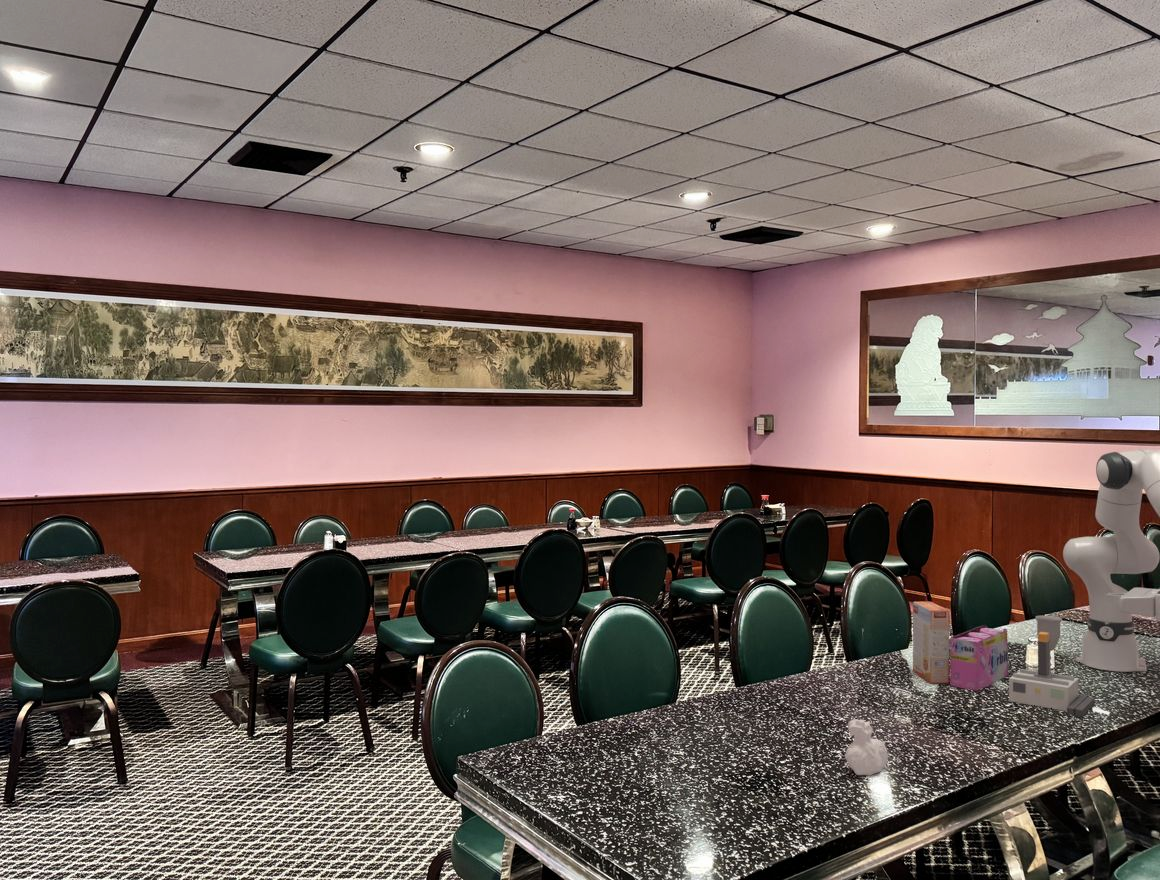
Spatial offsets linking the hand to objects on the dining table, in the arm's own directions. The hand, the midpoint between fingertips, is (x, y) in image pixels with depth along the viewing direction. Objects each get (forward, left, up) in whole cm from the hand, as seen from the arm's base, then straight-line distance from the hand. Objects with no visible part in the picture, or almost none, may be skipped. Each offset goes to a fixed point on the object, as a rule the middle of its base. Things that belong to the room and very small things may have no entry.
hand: (1105, 596), depth 237 cm
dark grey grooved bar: (+7, -4, -28) cm, 29 cm away
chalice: (-15, -17, -28) cm, 36 cm away
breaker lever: (+7, -13, -22) cm, 26 cm away
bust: (+84, -29, -28) cm, 93 cm away
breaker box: (+7, -13, -28) cm, 32 cm away
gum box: (-4, -32, -28) cm, 43 cm away
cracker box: (+2, -44, -28) cm, 52 cm away
